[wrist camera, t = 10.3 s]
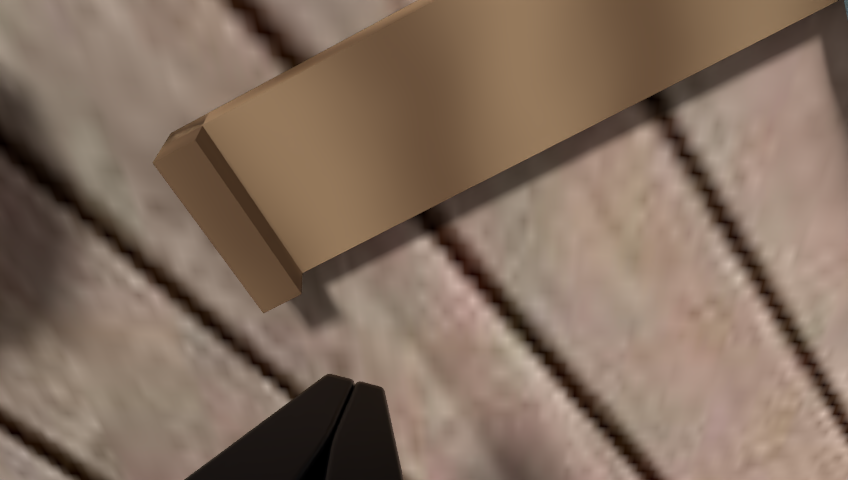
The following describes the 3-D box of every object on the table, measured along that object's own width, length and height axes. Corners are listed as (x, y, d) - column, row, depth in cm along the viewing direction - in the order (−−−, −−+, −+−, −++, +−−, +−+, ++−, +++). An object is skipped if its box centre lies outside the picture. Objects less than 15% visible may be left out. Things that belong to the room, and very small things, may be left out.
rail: (268, 271, 21) (263, 313, 19) (170, 133, 19) (152, 162, 17) (1023, -115, 19) (1111, -116, 17) (1013, -321, 17) (1112, -351, 15)
